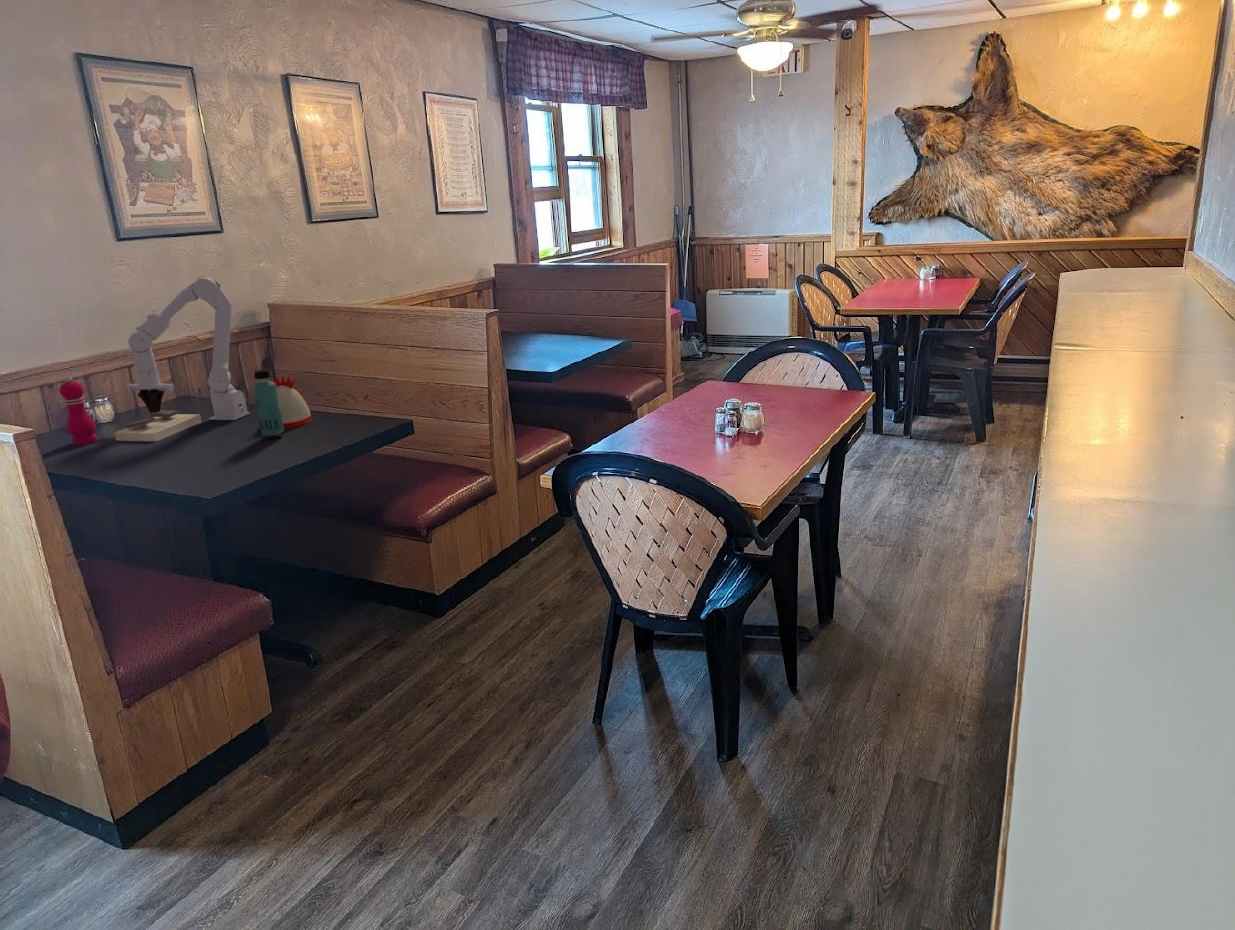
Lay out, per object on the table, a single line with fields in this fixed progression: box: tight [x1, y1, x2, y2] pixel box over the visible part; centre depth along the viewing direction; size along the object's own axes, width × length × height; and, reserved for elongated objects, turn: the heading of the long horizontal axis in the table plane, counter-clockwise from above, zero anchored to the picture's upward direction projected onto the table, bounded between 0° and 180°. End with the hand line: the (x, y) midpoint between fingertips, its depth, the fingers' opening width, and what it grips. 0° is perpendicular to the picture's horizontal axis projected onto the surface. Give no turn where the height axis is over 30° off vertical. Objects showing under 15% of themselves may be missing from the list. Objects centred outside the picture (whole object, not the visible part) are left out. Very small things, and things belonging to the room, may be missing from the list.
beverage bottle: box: [252, 368, 285, 436], centre depth 245 cm, size 6×7×20 cm
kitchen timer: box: [270, 374, 312, 430], centre depth 261 cm, size 14×14×15 cm
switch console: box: [114, 413, 202, 442], centre depth 261 cm, size 14×20×3 cm
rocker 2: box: [149, 409, 180, 418], centre depth 265 cm, size 7×4×1 cm, turn 77°
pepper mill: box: [59, 376, 98, 446], centre depth 251 cm, size 7×7×20 cm
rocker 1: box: [126, 417, 155, 428], centre depth 256 cm, size 7×4×1 cm, turn 77°
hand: (155, 413), depth 266 cm, fingers closed, pressing on rocker 2
